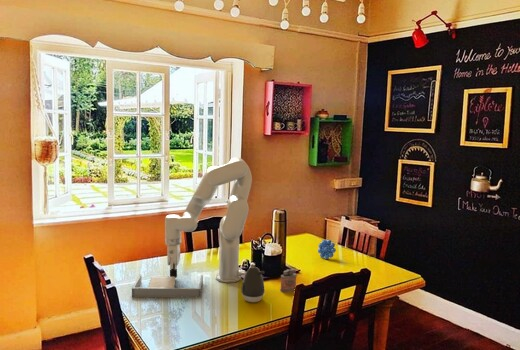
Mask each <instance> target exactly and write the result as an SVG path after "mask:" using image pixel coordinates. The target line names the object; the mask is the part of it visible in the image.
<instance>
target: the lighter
mask: <svg viewBox="0 0 520 350" xmlns="http://www.w3.org/2000/svg"><path fill="white" fill-rule="evenodd" d="M297 276H298V274H297V273H296V269H295V268H293V269H292V268H291V269H288V268H287V269H286V270H284V271H283V274H281V275H280V278H281V279H280V289H279V290H280V291H279V292H281V293H290V291H291V292H295V291H294V289H295V286H296V287H297Z"/></svg>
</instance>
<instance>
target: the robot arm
mask: <svg viewBox="0 0 520 350" xmlns="http://www.w3.org/2000/svg"><path fill="white" fill-rule="evenodd" d="M231 182H233V184H232V189H231V192H230V194H229V198H228V200H227V203H226V206H227V207H226V208H227V211H226V214H225V216H223V217H222V218H221V219H220V222H219V253H218V254H219V257H218V258H219V259H218V260H219V261H218V273H216V274H215V279H216V281H218V282H222V283H227V284H229V283H236V282H239V281H241V279H242V276H244V277H245V274H246V272H247V271H246V270H244V269H243V270H241V269H240V267H239V262H240V261H239V260H240V236H241V235H242V232H243V231H244V227H245V224H246V221H247V218H248V214H249V210H250V209H249V204H248V199H249V194H250V191H251V188H252V183H253V177H252V172H251V169H250V167H249V165H248V164H247V162H246V161H245V160H244V159H243V158H241V157H237V156H236V157H231V159H230V160H229V161H228V163H225V164H223V165H220V166H218V165H212V166H209V167H208V168H207V169H206V170H205V172H204V175H202V178H201V180H200V182H199V184H198V186H197V187H196V190H195V192H194V193H193V194H192V197H191V199H190V200H189V203H188V204H187V206H186V208H185V210H184V212H183V213H182V216H180V215H179V214H168V215H166V216H165V219H164V244H165V246H167V248H166V249H167V254H166V255H167V256H166V259H167V266H169V277H170V276H171V277H172V276H174V277H175V279H176V278H178V266H179V265H180V262H181V244H182V232H186V233H187V232H188V233H189V232H190V233H191V232H194V231H195V230H196V229H197V227H198V220H199V217H200V215H201V213H202V211H203V209H204V208H205V207H206V205H208V204H209V203H210V202H211V201H212V198H213V197H214V195H215V193H216V191H217V189H218V187H219V186H223V185H226V184H229V183H231Z"/></svg>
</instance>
